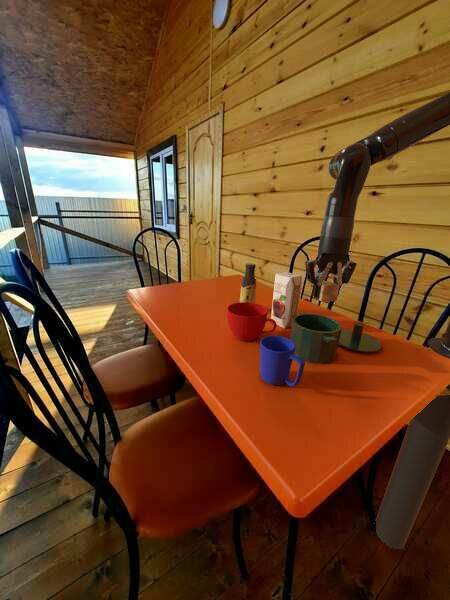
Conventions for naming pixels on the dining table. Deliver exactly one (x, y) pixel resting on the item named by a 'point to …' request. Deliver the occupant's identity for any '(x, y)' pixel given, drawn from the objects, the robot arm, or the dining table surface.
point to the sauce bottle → (248, 284)
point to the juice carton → (286, 298)
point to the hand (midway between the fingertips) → (324, 297)
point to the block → (328, 291)
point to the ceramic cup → (248, 320)
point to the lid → (359, 340)
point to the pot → (315, 337)
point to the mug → (278, 360)
